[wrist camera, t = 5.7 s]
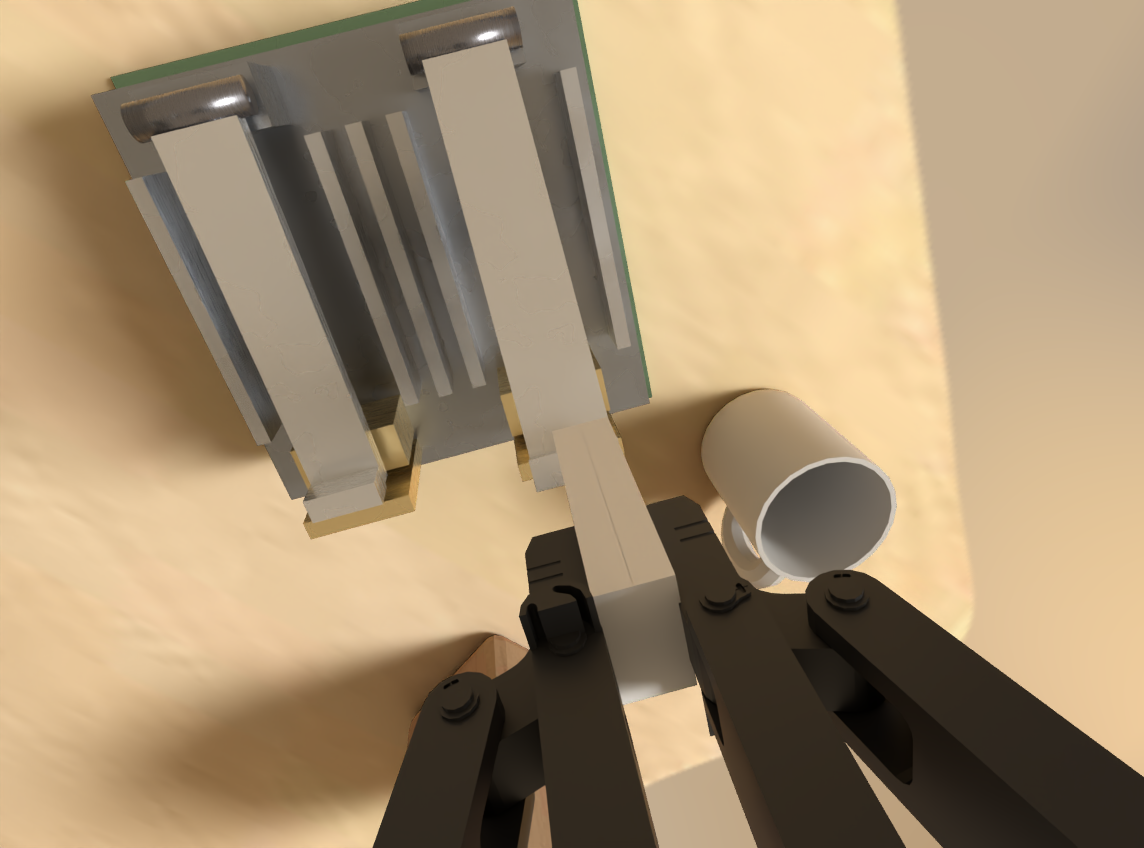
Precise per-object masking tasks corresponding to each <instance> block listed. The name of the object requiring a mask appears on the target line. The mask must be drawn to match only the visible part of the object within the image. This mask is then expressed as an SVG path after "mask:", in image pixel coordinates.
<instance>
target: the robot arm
mask: <svg viewBox="0 0 1144 848" xmlns="http://www.w3.org/2000/svg"><path fill="white" fill-rule="evenodd" d="M552 434H553V438H554V443H555V447H556V451H557V455H558V459H559V464H560V468H561V472H562V476H563V480H564V485H565V489H566V493H567V497H568V501H569V505H570V510H571V514H572V518H573V522H574V526H573V527H569V528H565V529H562V530H558V531H554V532H550V533H547V534H543V535H539V536H535V537H532V539H531V542H530V544H529V546H528V548H527V550H526V553H525V558H526V566H527V575H528V583H529V593H530V594H529V595H528V596H527V598H526V599H525V601H524V602H523V604H522V605H521V608H520V614H519V618H520V621H521V624H522V626H523V629H524V632H525V635H526V638H527V641H528V644H529V647H530V649H529V651H528V652H527V654H526V655H525V657H524V658H523V659H522V660H521V661H520V662H519V663H518V664H517V665H515V666H514V667H512V668H511V669H509V670H508V671H506V672H504V673H503V674H501V675H499V676H497V677H496V678H494V679H491V678H490V677H488V676H486V675H484V674H483V673H479V672H464V673H460V674H456V675H453V676H451V677H449V678H448V679H446V680H444V681H442V682H441V683H439V684H438V685H437V686H436V687H435V688H434V689H433V690H432V691H431V692H430V693H429V695H428V697H427V699H426V700H425V702H424V704H423V706H422V709H421V711H420V714H419V717H418V720H417V723H416V726H415V729H414V731H413V734H412V737H411V740H410V743H409V746H408V748H407V751H406V754H405V757H404V760H403V763H402V766H401V768H400V771H399V774H398V777H397V780H396V783H395V786H394V788H393V791H392V794H391V797H390V800H389V803H388V805H387V808H386V811H385V814H384V817H383V820H382V823H381V825H380V828H379V831H378V834H377V837H376V840H375V842H374V845H373V848H528V842H529V835H530V829H531V822H532V816H533V809H534V803H535V791H537V790H538V789H540V788H542V787H543V786H546V796H547V805H548V814H549V823H550V833H551V842H552V848H659V845H658V841H657V837H656V833H655V829H654V825H653V821H652V817H651V813H650V809H649V805H648V801H647V798H646V793H645V789H644V785H643V781H642V777H641V773H640V769H639V765H638V761H637V757H636V754H635V750H634V746H633V742H632V738H631V734H630V730H629V726H628V722H627V719H626V715H625V712H624V708H623V705H625V704H629V703H633V702H636V701H640V700H643V699H647V698H651V697H654V696H658V695H662V694H665V693H669V692H673V691H676V690H680V689H684V688H687V687H691V686H695V685H697V681H696V677H697V680H698V682H699V685H700V687H701V691H702V696H703V702H704V707H705V712H706V717H707V722H708V727H709V732H710V736H713V735H715V737H716V739H717V742H718V745H719V747H720V750H721V752H722V755H723V758H724V760H725V763H726V766H727V768H728V771H729V774H730V776H731V779H732V781H733V784H734V786H735V789H736V792H737V795H738V797H739V800H740V803H741V805H742V808H743V810H744V813H745V816H746V818H747V821H748V824H749V826H750V829H751V832H752V834H753V837H754V840H755V842H756V845H757V847H758V848H906V847H905V845H904V843H903V842H902V840H901V838H900V836H899V835H898V833H897V831H896V830H895V828H894V826H893V824H892V823H891V821H890V819H889V818H888V816H887V814H886V812H885V810H884V809H883V807H882V805H881V804H880V802H879V800H878V798H877V797H876V795H875V793H874V791H873V790H872V788H871V787H870V785H869V783H868V781H867V779H866V778H865V776H864V774H863V773H862V771H861V769H860V767H859V766H858V764H857V762H856V760H855V759H854V757H853V755H852V754H851V752H850V750H849V748H848V747H847V745H846V743H847V744H848V746H850V747H851V749H853V751H854V752H855V753H856V754H857V755H858V756H859V757H860V758H861V760H862V761H863V762H864V763H865V764H866V765H867V766H868V767H869V768H870V769H871V770H872V771H873V772H874V774H875V775H876V776H877V777H878V778H879V779H880V780H881V781H882V782H883V783H884V784H885V786H886V787H888V789H889V790H890V791H891V792H892V793H893V794H894V795H895V796H896V797H897V798H898V800H899V801H900V802H901V803H902V804H903V805H904V806H905V807H906V808H907V809H908V810H909V811H910V812H911V814H912V815H913V816H914V817H915V818H916V819H917V820H918V821H919V822H920V823H921V824H922V825H923V826H924V828H925V829H926V830H927V831H928V832H929V833H930V834H931V835H932V836H933V837H934V838H935V839H936V841H937V842H938V843H939V844H940V845H941V846H942V847H943V848H1144V777H1143V776H1142V775H1140V774H1139V773H1138V772H1136V771H1135V770H1133V769H1132V768H1131V767H1129V766H1128V765H1127V764H1125V763H1124V762H1123V761H1121V760H1120V759H1119V758H1117V757H1116V756H1115V755H1113V754H1112V753H1110V752H1109V751H1108V750H1106V749H1105V748H1104V747H1102V746H1101V745H1100V744H1098V743H1097V742H1096V741H1094V740H1093V739H1092V738H1090V737H1089V736H1088V735H1086V734H1085V733H1083V732H1082V731H1081V730H1079V729H1078V728H1077V727H1075V726H1074V725H1072V724H1071V723H1070V722H1069V721H1067V720H1066V719H1064V718H1063V717H1062V716H1060V715H1059V714H1057V713H1056V712H1055V711H1054V710H1052V709H1051V708H1050V707H1048V706H1047V705H1046V704H1044V703H1043V702H1042V701H1040V700H1039V699H1038V698H1036V697H1035V696H1034V695H1032V694H1031V693H1029V692H1028V691H1027V690H1025V689H1024V688H1023V687H1021V686H1020V685H1019V684H1017V683H1016V682H1014V681H1013V680H1012V679H1011V678H1009V677H1008V676H1007V675H1005V674H1004V673H1003V672H1001V671H1000V670H998V669H997V668H996V667H994V666H993V665H991V664H990V663H989V662H988V661H986V660H985V659H984V658H982V657H981V656H980V655H978V654H977V653H975V652H974V651H973V650H971V649H970V648H969V647H967V646H966V645H965V644H963V643H962V642H961V641H959V640H958V639H957V638H955V637H954V636H953V635H951V634H950V633H948V632H947V631H946V630H944V629H943V628H942V627H940V626H939V625H938V624H936V623H935V622H934V621H932V620H931V619H930V618H928V617H927V616H926V615H924V614H923V613H921V612H920V611H919V610H917V609H916V608H915V607H913V606H912V605H911V604H909V603H908V602H907V601H905V600H904V599H903V598H901V597H900V596H899V595H897V594H896V593H894V592H893V591H892V590H890V589H889V588H888V587H886V586H885V585H884V584H882V583H881V582H880V581H878V580H877V579H875V578H873V577H871V576H869V575H867V574H865V573H862V572H857V571H853V570H832V571H829V572H826V573H822V574H820V575H818V576H817V577H815V578H814V579H813V580H811V581H810V583H809V585H808V587H807V589H806V591H805V592H806V594H776V593H769V592H765V591H760V590H758V589H756V588H755V587H754V586H753V585H752V584H751V583H750V582H749V581H748V580H745V579H743V578H741V577H740V576H739V574H738V573H737V571H736V569H735V567H734V566H733V564H732V562H731V560H730V559H729V557H728V555H727V553H726V552H725V550H724V548H723V546H722V544H721V543H720V541H719V539H718V537H717V536H716V534H715V533H714V530H713V528H712V527H711V525H710V523H709V522H708V520H707V518H706V516H705V514H704V513H703V511H702V509H701V507H700V505H698V504H697V503H695V502H693V501H692V500H690V499H689V498H687V497H686V496H684V495H683V496H679V497H675V498H672V499H668V500H664V501H660V502H657V503H653V504H649V505H645V503H644V500H643V498H642V496H641V493H640V491H639V489H638V486H637V484H636V482H635V479H634V477H633V475H632V473H631V470H630V468H629V466H628V463H627V461H626V459H625V456H624V454H623V452H622V449H621V447H620V445H619V442H618V440H617V438H616V435H615V433H614V431H613V428H612V426H611V424H610V421H609V419H608V417H604V418H600V419H597V420H593V421H589V422H585V423H581V424H578V425H574V426H570V427H566V428H563V429H559V430H555V431H552ZM695 675H696V676H695ZM845 742H846V743H845Z"/></svg>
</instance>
